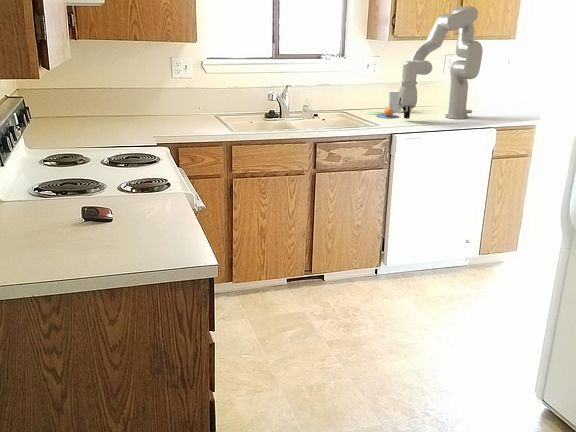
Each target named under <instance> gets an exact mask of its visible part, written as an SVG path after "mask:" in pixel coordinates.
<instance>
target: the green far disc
mask: <svg viewBox="0 0 576 432" xmlns="http://www.w3.org/2000/svg"><path fill="white" fill-rule="evenodd" d="M382 114H384V112H381V111H369V112H367V115H372V116H377V115H382Z"/></svg>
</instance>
